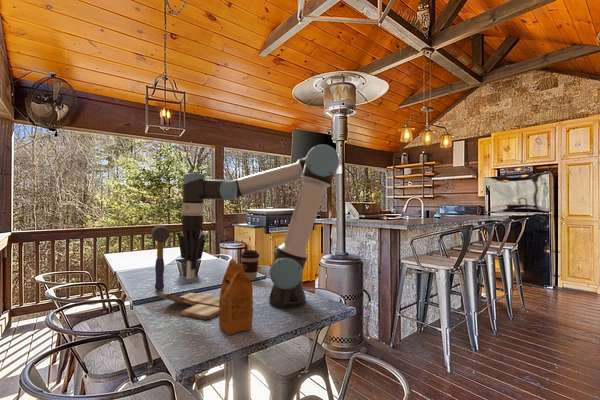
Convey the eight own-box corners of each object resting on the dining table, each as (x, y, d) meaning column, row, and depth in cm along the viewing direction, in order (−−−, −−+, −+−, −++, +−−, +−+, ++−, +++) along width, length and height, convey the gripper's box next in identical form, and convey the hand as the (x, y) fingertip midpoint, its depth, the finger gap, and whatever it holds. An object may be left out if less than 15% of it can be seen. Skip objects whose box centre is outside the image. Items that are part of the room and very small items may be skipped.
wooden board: (238, 304, 126) (238, 299, 126) (224, 311, 118) (224, 306, 118) (190, 296, 136) (190, 291, 136) (174, 302, 128) (174, 297, 128)
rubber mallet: (169, 292, 140) (170, 226, 140) (151, 294, 137) (152, 226, 137) (166, 285, 151) (167, 224, 151) (149, 287, 148) (150, 224, 148)
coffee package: (243, 318, 111) (244, 257, 111) (255, 331, 100) (256, 263, 100) (215, 323, 106) (216, 259, 106) (225, 337, 96) (226, 266, 96)
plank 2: (223, 311, 117) (223, 308, 117) (207, 319, 109) (207, 316, 109) (198, 306, 122) (198, 303, 122) (180, 314, 113) (180, 310, 113)
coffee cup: (239, 277, 170) (239, 249, 170) (257, 276, 173) (257, 249, 173) (241, 281, 160) (241, 252, 161) (260, 280, 163) (260, 252, 163)
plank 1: (196, 305, 122) (197, 302, 123) (181, 300, 115) (182, 297, 115) (173, 301, 127) (174, 298, 128) (157, 296, 120) (158, 293, 120)
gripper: (171, 214, 115) (169, 277, 115) (199, 215, 110) (197, 282, 110) (186, 213, 122) (184, 273, 122) (213, 215, 117) (211, 278, 117)
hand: (190, 277), depth 116 cm, fingers closed
